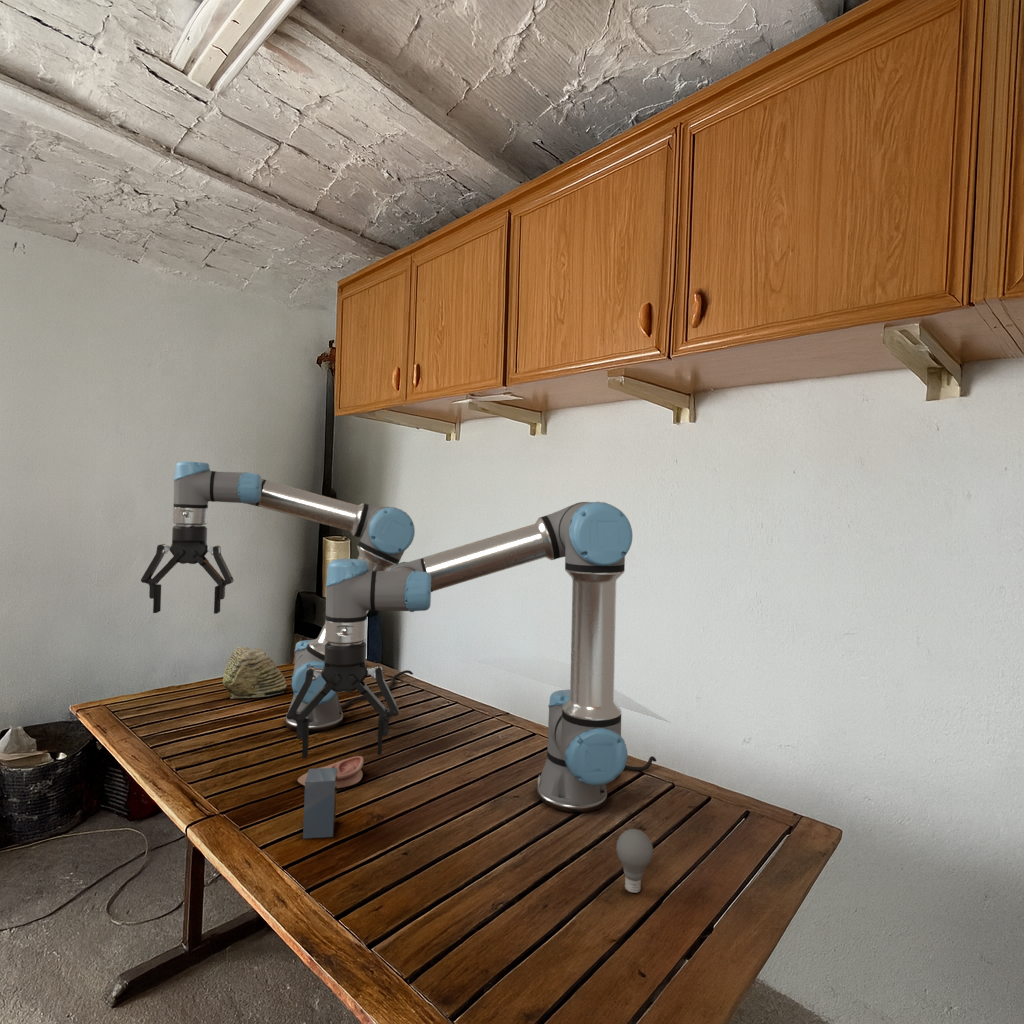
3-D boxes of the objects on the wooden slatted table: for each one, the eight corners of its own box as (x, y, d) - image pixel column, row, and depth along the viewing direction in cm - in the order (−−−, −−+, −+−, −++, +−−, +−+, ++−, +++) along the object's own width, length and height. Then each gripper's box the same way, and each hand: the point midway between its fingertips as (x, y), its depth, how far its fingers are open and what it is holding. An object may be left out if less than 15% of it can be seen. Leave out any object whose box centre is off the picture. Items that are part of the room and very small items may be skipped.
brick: (306, 822, 123) (308, 768, 123) (335, 821, 124) (337, 767, 124) (302, 838, 117) (305, 781, 117) (332, 837, 118) (335, 780, 118)
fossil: (218, 695, 195) (220, 647, 195) (278, 685, 208) (279, 640, 207) (228, 703, 189) (230, 653, 188) (289, 692, 201) (290, 645, 201)
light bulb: (610, 879, 108) (613, 822, 108) (644, 879, 109) (647, 822, 109) (619, 902, 102) (622, 840, 102) (655, 901, 103) (658, 840, 103)
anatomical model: (290, 768, 137) (317, 748, 149) (290, 786, 138) (316, 764, 149) (347, 776, 135) (370, 755, 146) (346, 794, 135) (369, 772, 146)
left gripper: (127, 524, 148) (124, 614, 148) (241, 527, 152) (237, 615, 153) (139, 522, 155) (137, 609, 155) (247, 526, 160) (244, 610, 160)
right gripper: (272, 647, 113) (269, 765, 113) (413, 645, 117) (410, 758, 118) (279, 637, 120) (276, 748, 121) (412, 636, 125) (409, 743, 125)
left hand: (187, 612), depth 154 cm, fingers open, 13 cm apart
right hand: (342, 754), depth 119 cm, fingers open, 13 cm apart
